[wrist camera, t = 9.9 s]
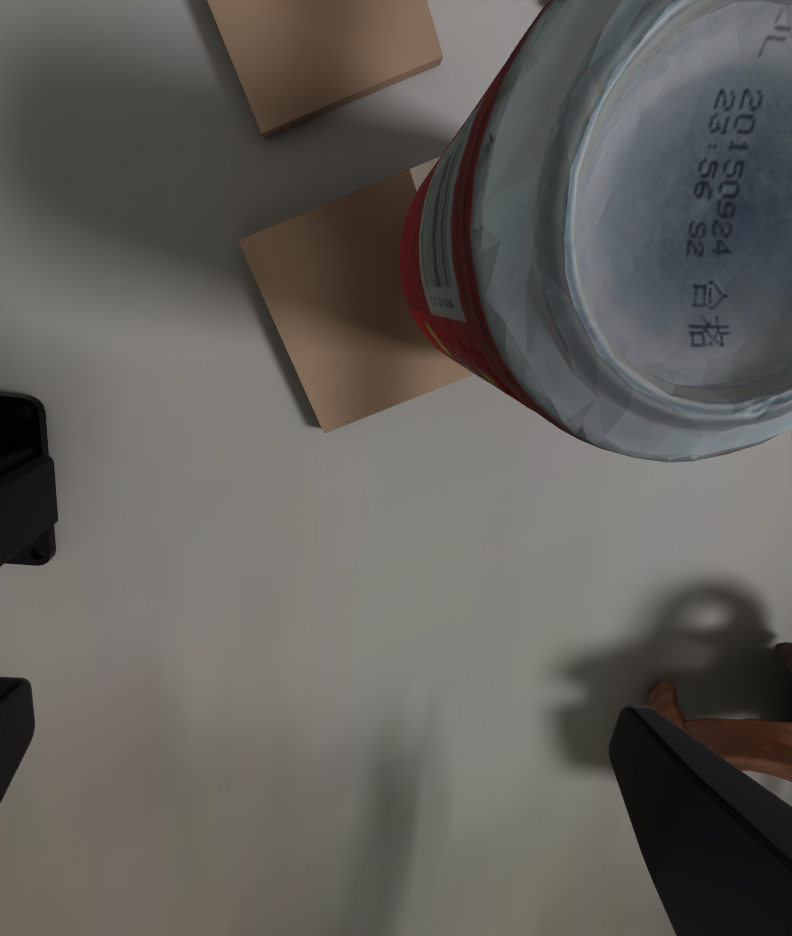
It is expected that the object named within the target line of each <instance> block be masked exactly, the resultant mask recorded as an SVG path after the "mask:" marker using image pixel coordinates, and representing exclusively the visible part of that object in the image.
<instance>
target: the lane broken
mask: <svg viewBox="0 0 792 936" xmlns="http://www.w3.org/2000/svg"><path fill="white" fill-rule="evenodd" d="M207 1H208V4H209V6H210V9H211V11H212V14H213V16H214V19H215V21H216V24H217V26H218V29H219V31H220V33H221V36H222V38H223V41H224V43H225V46H226V48H227V51H228V53H229V56H230V58H231V61H232V63H233V65H234V68H235V70H236V73H237V75H238V78H239V80H240V83H241V85H242V88H243V90H244V92H245V95H246V97H247V100H248V102H249V105H250V107H251V110H252V112H253V115H254V117H255V120H256V122H257V124H258V127H259V129H260V132H261V134H262V136H263V138H264V139H265V138H267V137H269V136H272V135H274V134H277V133H279V132H281V131H284V130H286V129H288V128H291V127H293V126H296V125H298V124H300V123H303V122H305V121H307V120H310V119H312V118H315V117H317V116H319V115H322V114H324V113H326V112H329V111H331V110H333V109H336V108H338V107H341V106H343V105H345V104H348V103H350V102H352V101H355V100H357V99H360V98H362V97H364V96H367V95H369V94H371V93H374V92H376V91H379V90H381V89H383V88H386V87H388V86H390V85H393V84H395V83H397V82H400V81H402V80H405V79H407V78H409V77H412V76H414V75H416V74H419V73H421V72H424V71H426V70H428V69H431V68H433V67H435V66H438V65H440V63H441V60H442V58H443V55H442V52H441V48H440V45H439V41H438V38H437V34H436V31H435V27H434V24H433V20H432V17H431V13H430V10H429V7H428V3H427V0H207Z"/></svg>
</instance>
